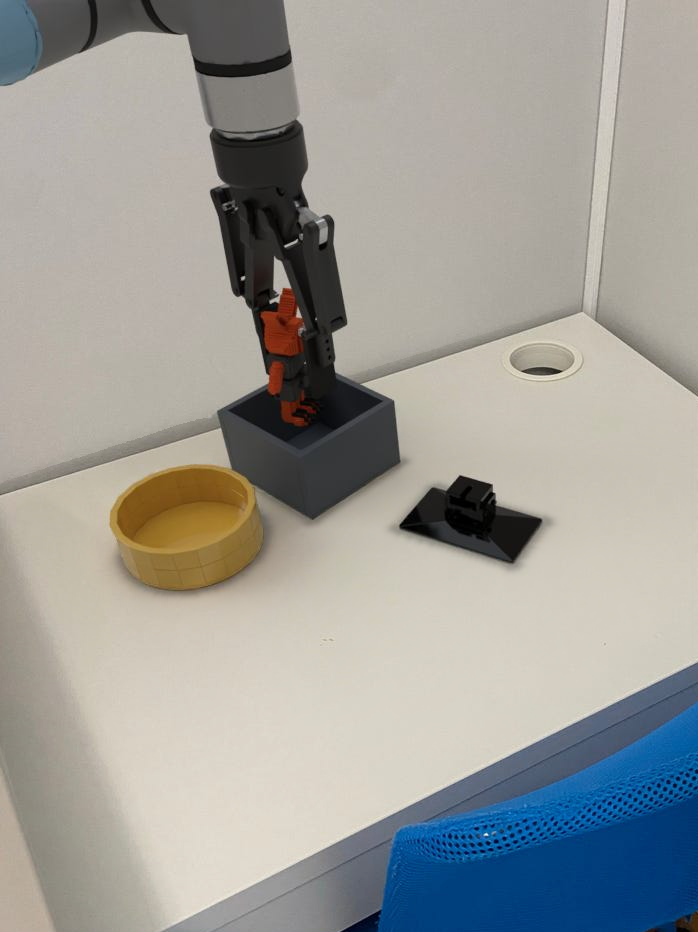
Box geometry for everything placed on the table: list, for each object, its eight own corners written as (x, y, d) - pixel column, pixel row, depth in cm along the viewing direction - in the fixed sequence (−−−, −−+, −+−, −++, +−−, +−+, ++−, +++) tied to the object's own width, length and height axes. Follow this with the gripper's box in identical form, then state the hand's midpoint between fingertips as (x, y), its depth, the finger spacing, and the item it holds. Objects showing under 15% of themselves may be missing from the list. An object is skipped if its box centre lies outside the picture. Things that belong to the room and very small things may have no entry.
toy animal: (320, 441, 91) (304, 327, 83) (268, 433, 92) (246, 319, 84) (348, 398, 97) (336, 286, 88) (298, 391, 98) (282, 279, 89)
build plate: (398, 529, 92) (393, 491, 89) (433, 488, 96) (430, 450, 93) (512, 564, 88) (512, 525, 84) (544, 520, 92) (545, 481, 89)
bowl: (96, 549, 91) (80, 512, 87) (207, 484, 98) (196, 448, 94) (180, 610, 84) (166, 573, 81) (292, 536, 91) (284, 500, 88)
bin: (232, 472, 99) (216, 410, 94) (320, 420, 105) (310, 360, 100) (312, 520, 93) (300, 457, 88) (400, 462, 100) (394, 400, 94)
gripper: (371, 135, 73) (397, 397, 89) (218, 89, 81) (268, 336, 98) (298, 163, 69) (340, 431, 85) (146, 112, 78) (210, 365, 94)
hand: (301, 380), depth 92 cm, fingers closed on toy animal, 6 cm apart
